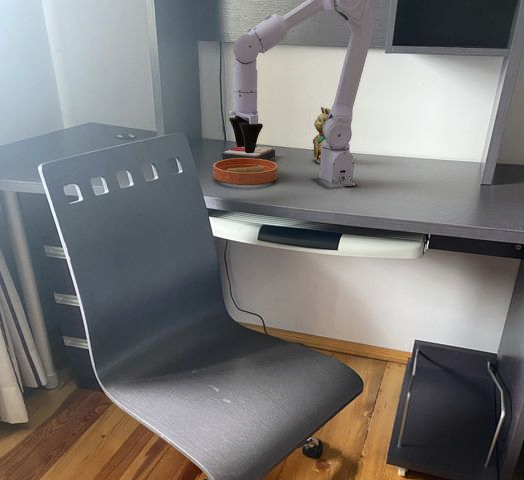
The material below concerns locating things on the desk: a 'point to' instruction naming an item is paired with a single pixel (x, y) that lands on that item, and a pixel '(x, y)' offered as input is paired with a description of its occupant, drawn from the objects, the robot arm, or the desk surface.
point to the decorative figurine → (320, 133)
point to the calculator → (240, 152)
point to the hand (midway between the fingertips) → (245, 149)
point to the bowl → (245, 178)
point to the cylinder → (246, 169)
